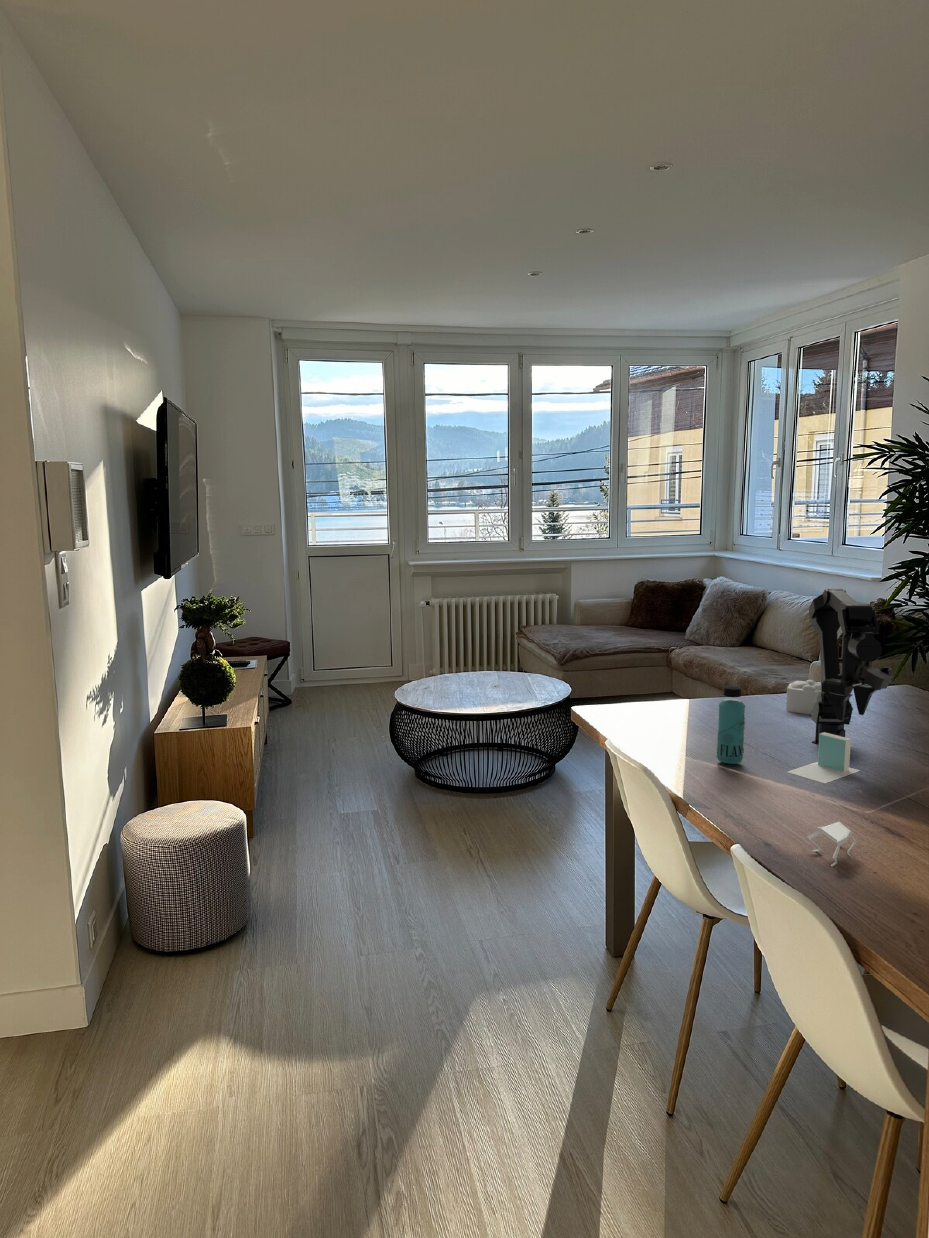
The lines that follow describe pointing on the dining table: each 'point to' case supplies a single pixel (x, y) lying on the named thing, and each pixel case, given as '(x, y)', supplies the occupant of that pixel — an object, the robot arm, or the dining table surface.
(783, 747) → the dining table surface
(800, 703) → the white bumpy block
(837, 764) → the rectangular block
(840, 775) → the felt mat
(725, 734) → the beverage bottle
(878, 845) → the dining table surface
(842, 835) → the white legged piece
